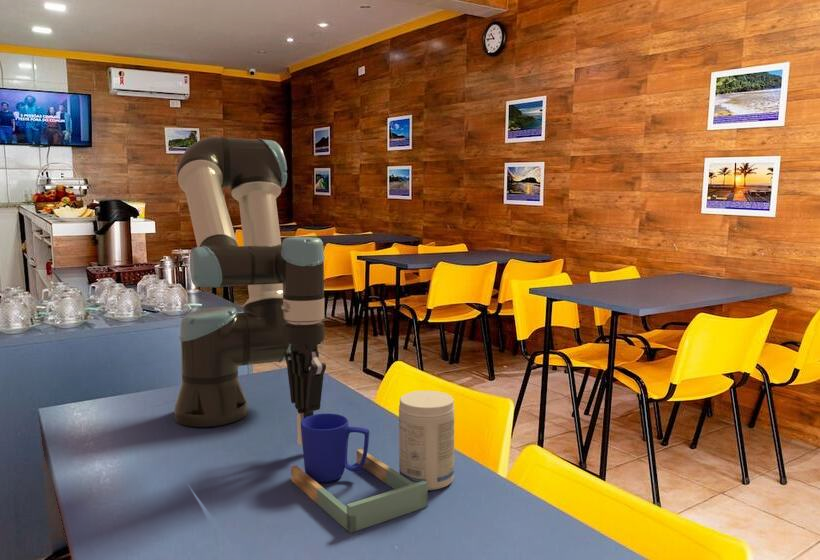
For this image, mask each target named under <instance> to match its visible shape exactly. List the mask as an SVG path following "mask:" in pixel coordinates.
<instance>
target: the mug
mask: <svg viewBox="0 0 820 560" xmlns="http://www.w3.org/2000/svg"><path fill="white" fill-rule="evenodd" d="M351 433H359V434H363V435H364V442H363V443H364V444H363V449H362V450H363V456H362V460H361V462H360V464H357V465H350V464H349V461H348V450H349V449H348V448H349V447H348V446H349V436H350V434H351ZM301 434H302V445H303V446H302V452H303V455H302V456H303V466H304V472H305V473H306V474H307V475H309V476H310V477H311V478H312V479H313V480H315V481H316V482H317V483H330V482H334V481H337V480H338V479H340V478H341V477H342V476H343V475H344V473H345V469H346V470H348V471H351V472H358V471H359V470H361V469H362V468H363V467H362V466H363V465H364V463H365V460H366V457H367V453H368V450H369V443H370V442H369V440H370V429H369V428H365V427H359V426H351V425H350V426H349V420H348V418H347V417H346V416H345V415H341V414H337V413H317V414H314V415H311V416H308V417H306V418H304V419H303V420H302V421H301Z"/></svg>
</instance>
